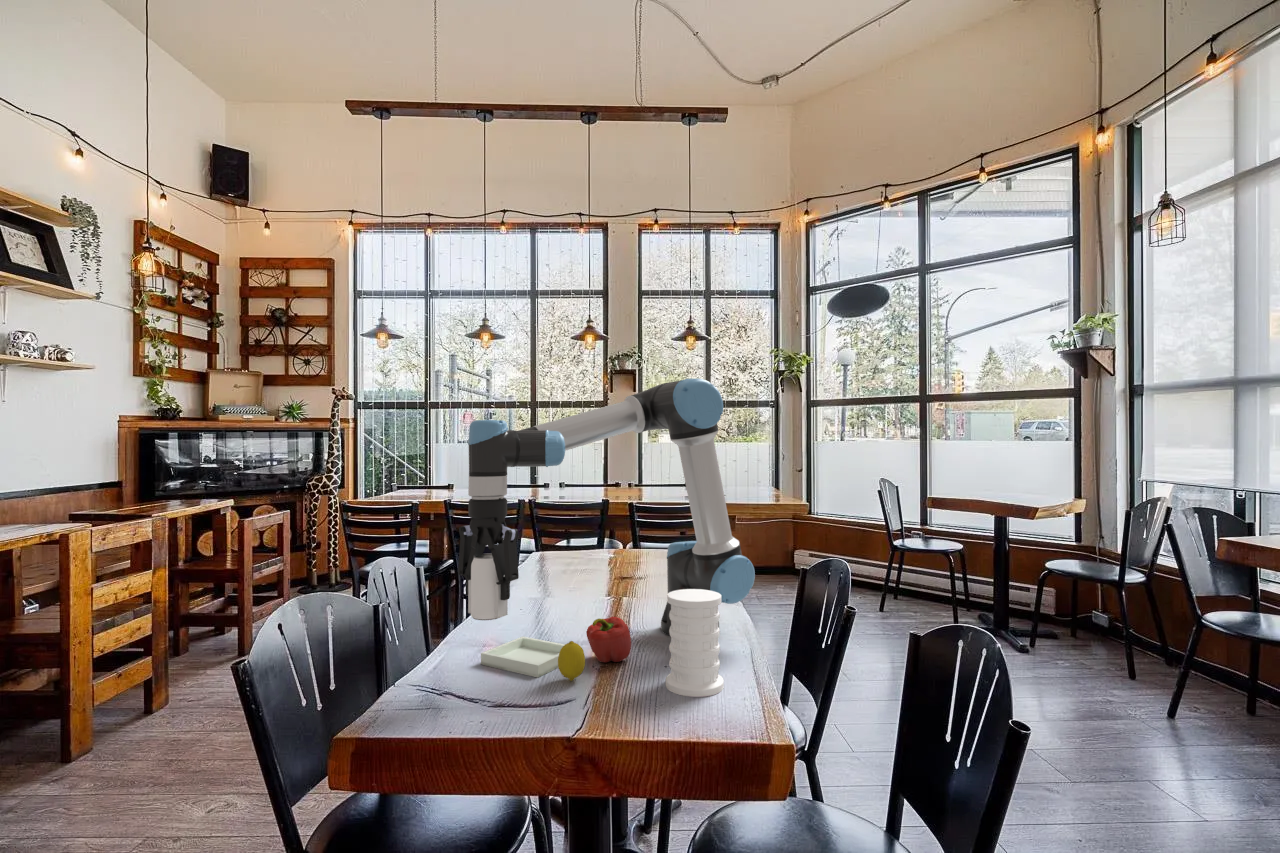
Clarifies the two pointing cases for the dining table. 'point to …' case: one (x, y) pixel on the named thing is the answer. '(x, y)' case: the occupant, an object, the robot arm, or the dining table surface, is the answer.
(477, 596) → the can
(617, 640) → the vegetable
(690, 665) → the decorative container
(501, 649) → the dish
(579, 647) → the lemon
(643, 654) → the dining table surface
